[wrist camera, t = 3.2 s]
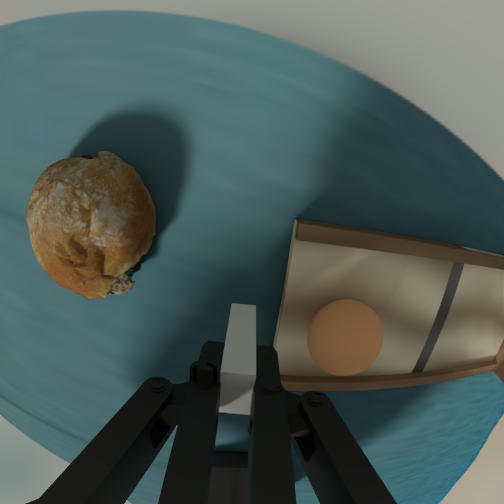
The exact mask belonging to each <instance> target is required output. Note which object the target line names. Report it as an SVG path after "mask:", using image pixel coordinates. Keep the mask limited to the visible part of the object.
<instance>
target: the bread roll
mask: <svg viewBox="0 0 504 504" xmlns="http://www.w3.org/2000/svg"><path fill="white" fill-rule="evenodd" d="M26 219H27V224H28V227H29V233H30V239H31V243H32V247H33V251H34V253H35V255H36V257H37V259H38V261H39V262H40V264H41V266H42V267H43V268H44V269H45V271H46V272H47V273H48V275H49V276H50V277H51V278H52V279H53V280H54V281H55V282H56V283H57V284H59V285H60V286H62V287H64V288H67V289H69V290H72V291H74V292H76V293H78V294H81V295H83V296H84V297H85V298H86V299H88V300H90V299H94V298H106V297H107V295H108V293H109V292H110V293H111V294H117V295H120V294H123V293H125V292H126V291H128V290H131V289H132V286H133V285H134V283H135V281H132V279H131V278H129V276H128V274H129V273H130V272H133V273H134V272H137V271H139V270H140V267H141V257H142V256H143V255H144V254H146V253H147V252H148V251H149V249H150V247H151V244H152V240H153V236H154V235H155V234H156V233H155V226H156V208H155V205H154V204H153V201H152V198H151V196H150V194H149V190H147V188H146V187H145V185H144V184H143V182H142V179H141V178H140V176H139V174H138V173H137V172H136V170H135V169H134V168H133V166H131V165H129V164H127V163H126V162H124V161H123V160H122V159H120V158H119V157H118V156H116V154H114V153H111V152H109V151H100V152H98V157H92V156H89V155H85V156H84V155H83V156H81V157H72V158H66V159H62V160H60V161H58V162H56V163H54V164H52V165H50V166H49V167H48V168H47V169H46V170H45V171H44V172H43V173H42V174H41V176H40V177H39V178H38V180H37V182H36V184H35V185H34V187H33V190H32V193H31V196H30V200H29V205H28V210H27V214H26Z"/></svg>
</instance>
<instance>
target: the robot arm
mask: <svg viewBox="0 0 504 504" xmlns="http://www.w3.org/2000/svg"><path fill="white" fill-rule="evenodd" d="M219 412H223V413H233V414H245V415H250V420H249V426H248V432H249V441H248V453H237V452H215V453H214V448H215V440H216V433H217V425H218V413H219ZM176 425H178V427H177V431H176V435H175V439H174V442H173V446H172V450H171V454H170V458H169V462H168V466H167V470H166V474H165V478H164V482H163V486H162V490H161V494H160V498H159V502H158V504H296V494H295V482H294V473H293V464H292V454H291V444H290V439H291V441H292V443H293V445H294V448H295V450H296V452H297V454H298V457H299V459H300V461H301V463H302V465H303V468H304V470H305V472H306V474H307V476H308V479H309V481H310V483H311V485H312V487H313V489H314V491H315V494H316V496H317V498H318V500H319V502H320V504H397V503H396V501H395V500H394V498H393V497H392V495H391V494H390V492H389V491H388V489H387V488H386V486H385V485H384V483H383V482H382V480H381V479H380V477H379V476H378V474H377V473H376V471H375V469H374V468H373V466H372V465H371V463H370V462H369V460H368V459H367V457H366V456H365V454H364V453H363V451H362V449H361V448H360V446H359V445H358V443H357V442H356V440H355V439H354V437H353V435H352V434H351V432H350V431H349V429H348V428H347V426H346V424H345V423H344V421H343V420H342V418H341V417H340V415H339V414H338V412H337V410H336V409H335V407H334V406H333V404H332V402H331V401H330V399H329V398H328V397H327V396H326V395H325V394H323V393H321V392H318V391H309V392H306V393H304V394H303V395H302V396H299V395H295V394H292V393H290V392H288V391H286V390H285V389H284V387H283V386H282V385H281V379H280V370H279V361H278V352H277V351H276V350H275V348H274V347H273V346H259V345H256V305H247V304H237V303H232V305H231V311H230V317H229V323H228V329H227V335H226V341H225V343H222V342H213V341H207V342H206V343H205V344H204V345H203V346H202V349H201V353H200V357H199V360H198V361H196V362H194V363H193V364H192V365H191V366H190V381H188V382H186V383H183V384H173V385H172V383H171V382H170V381H169V380H167V379H165V378H162V377H153V378H150V379H148V380H146V381H145V382H144V383H143V384H142V385H141V387H140V388H139V389H138V390H137V391H136V392H135V393H134V394H133V395H132V397H131V398H130V399H129V400H128V401H127V402H126V403H125V404H124V405H123V407H122V408H121V409H120V410H119V411H118V412H117V413H116V414H115V415H114V417H113V418H112V419H111V420H110V421H109V422H108V423H107V424H106V425H105V427H104V428H103V429H102V430H101V431H100V432H99V433H98V434H97V435H96V436H95V438H94V439H93V440H92V441H91V442H90V443H89V444H88V445H87V446H86V448H85V449H84V450H83V451H82V452H81V453H80V454H79V455H78V456H77V457H76V459H75V460H74V461H73V462H72V463H71V464H70V465H69V466H68V467H67V468H66V469H65V471H64V472H63V473H62V474H61V475H60V476H59V477H58V478H57V479H56V480H55V481H54V483H53V484H52V485H51V486H50V487H49V488H48V489H47V490H46V491H45V492H44V494H43V495H42V496H41V497H40V498H39V499H36V500H34V501H31V502H29V503H26V504H124V503H125V502H126V500H127V499H128V497H129V496H130V494H131V493H132V491H133V490H134V489H135V487H136V486H137V484H138V483H139V481H140V480H141V478H142V477H143V475H144V474H145V472H146V471H147V470H148V468H149V467H150V465H151V464H152V462H153V461H154V459H155V458H156V456H157V455H158V453H159V452H160V450H161V449H162V447H163V446H164V444H165V442H166V441H167V439H168V438H169V436H170V435H171V433H172V432H173V430H174V429H175V427H176Z"/></svg>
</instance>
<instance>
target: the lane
mask: <svg viewBox="0 0 504 504" xmlns="http://www.w3.org/2000/svg"><path fill="white" fill-rule="evenodd" d="M344 299H351V300H356V301H360V302H362V303H364V304H366V305H368V306H369V307H370V308H372V309H373V310H374V311H375V313H376V314H377V315H378V317H379V319H380V321H381V324H382V327H383V334H384V336H383V345H382V348H381V351H380V353H379V355H378V357H377V358H376V359H375V361H374V362H373V363H372V364H371V365H370V366H369V367H368V368H366V369H365V370H363V371H361V372H359V373H357V374H354V375H349V376H338V375H333V374H330V373H328V372H326V371H324V370H323V369H321V368H320V367H319V366H318V365H317V364H316V363H315V362H314V360H313V359H312V357H311V355H310V352H309V349H308V343H307V336H308V330H309V327H310V324H311V322H312V320H313V318H314V317H315V315H316V314H317V313H318V312H319V311H320V310H321V309H322V308H323V307H325V306H326V305H328V304H330V303H332V302H335V301H338V300H344ZM273 347H274V348H275V350H276V351H277V352H278V361H279V370H280V379H281V385H282V386H283V387H284V389H285V390H286V391H361V390H377V389H389V388H400V387H409V386H417V385H424V384H431V383H437V382H443V381H449V380H454V379H459V378H464V377H469V376H474V375H478V374H482V373H486V372H490V371H494V372H495V373H496V374H497V376H498V377H499V378H500V379H501V380H502V381H503V382H504V255H500V254H496V253H491V252H487V251H482V250H478V249H473V248H468V247H463V246H458V245H453V244H448V243H443V242H438V241H433V240H428V239H422V238H417V237H411V236H406V235H400V234H394V233H388V232H383V231H376V230H370V229H364V228H358V227H351V226H345V225H338V224H331V223H325V222H318V221H310V220H303V219H296V218H295V220H294V226H293V233H292V239H291V246H290V252H289V258H288V265H287V271H286V277H285V283H284V288H283V294H282V300H281V306H280V311H279V317H278V322H277V327H276V333H275V338H274V343H273Z"/></svg>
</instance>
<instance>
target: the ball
mask: <svg viewBox="0 0 504 504" xmlns="http://www.w3.org/2000/svg"><path fill="white" fill-rule="evenodd" d="M383 336H384V334H383V327H382V324H381V321H380V319H379V317H378V315H377V314H376V313H375V311H374V310H373V309H372V308H370V307H369V306H368V305H366V304H364V303H362V302H360V301H356V300H351V299H344V300H338V301H335V302H332V303H330V304H328V305H326V306H325V307H323V308H322V309H321V310H320V311H319V312H318V313H317V314H316V315H315V317H314V318H313V320H312V322H311V324H310V327H309V330H308V336H307V343H308V349H309V352H310V355H311V357H312V359H313V360H314V362H315V363H316V364H317V365H318V366H319V367H320V368H321V369H323V370H324V371H326V372H328V373H330V374H333V375H338V376H349V375H354V374H357V373H359V372H361V371H363V370H365V369H366V368H368V367H369V366H370V365H371V364H372V363H373V362H374V361H375V359H376V358H377V357H378V355H379V353H380V351H381V348H382V345H383Z"/></svg>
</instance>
